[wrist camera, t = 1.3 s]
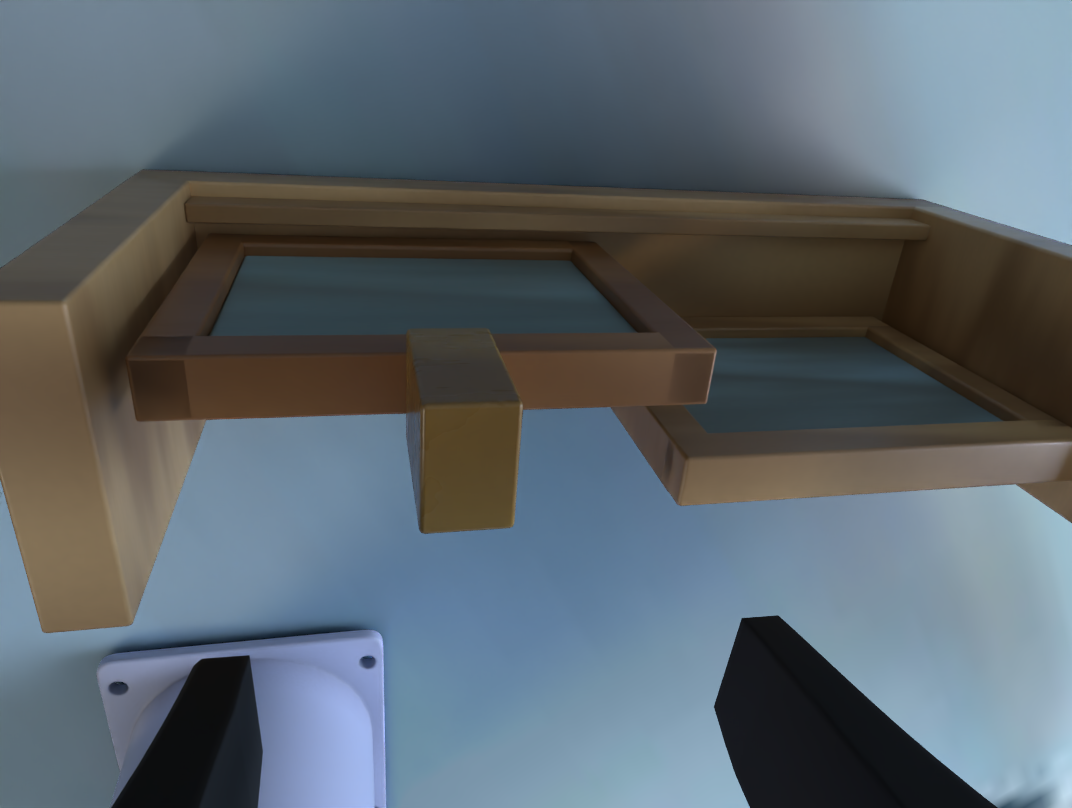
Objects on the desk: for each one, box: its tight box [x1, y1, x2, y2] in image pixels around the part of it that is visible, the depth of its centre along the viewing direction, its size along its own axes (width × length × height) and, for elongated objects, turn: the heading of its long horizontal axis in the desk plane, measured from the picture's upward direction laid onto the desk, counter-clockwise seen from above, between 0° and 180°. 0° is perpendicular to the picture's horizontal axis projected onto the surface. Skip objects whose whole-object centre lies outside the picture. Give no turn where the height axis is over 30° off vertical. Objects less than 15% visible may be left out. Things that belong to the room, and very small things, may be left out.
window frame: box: [0, 169, 1072, 633], centre depth 16 cm, size 5×20×9 cm, turn 85°
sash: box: [125, 233, 717, 534], centre depth 13 cm, size 2×9×9 cm, turn 85°
